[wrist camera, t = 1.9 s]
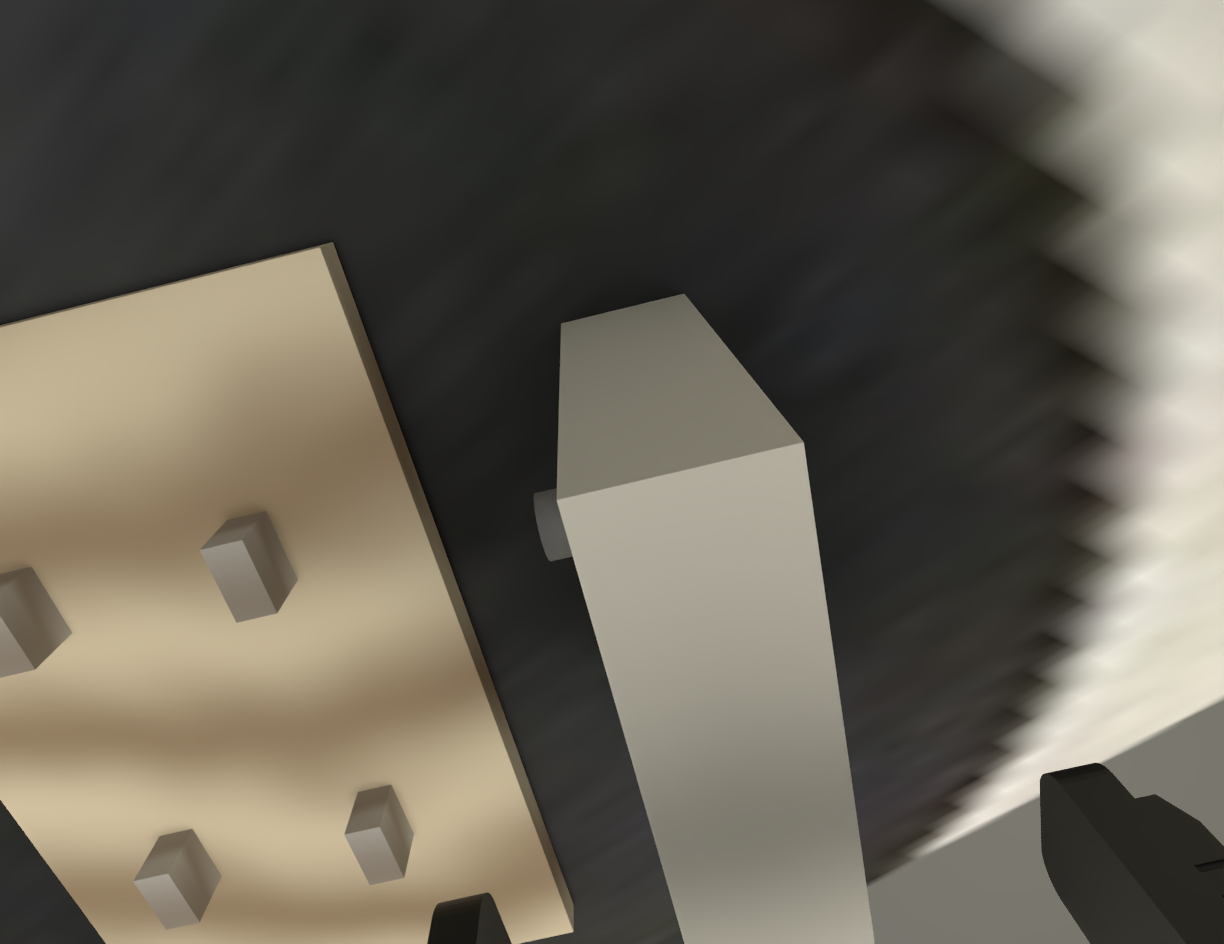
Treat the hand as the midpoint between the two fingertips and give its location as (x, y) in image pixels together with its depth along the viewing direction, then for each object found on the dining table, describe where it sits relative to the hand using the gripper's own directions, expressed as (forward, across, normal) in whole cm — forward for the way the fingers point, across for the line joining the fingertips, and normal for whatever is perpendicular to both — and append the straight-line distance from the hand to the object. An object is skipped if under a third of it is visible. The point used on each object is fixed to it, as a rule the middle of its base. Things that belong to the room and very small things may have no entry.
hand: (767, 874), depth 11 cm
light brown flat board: (+10, +13, +2) cm, 17 cm away
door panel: (+10, 0, 0) cm, 11 cm away
